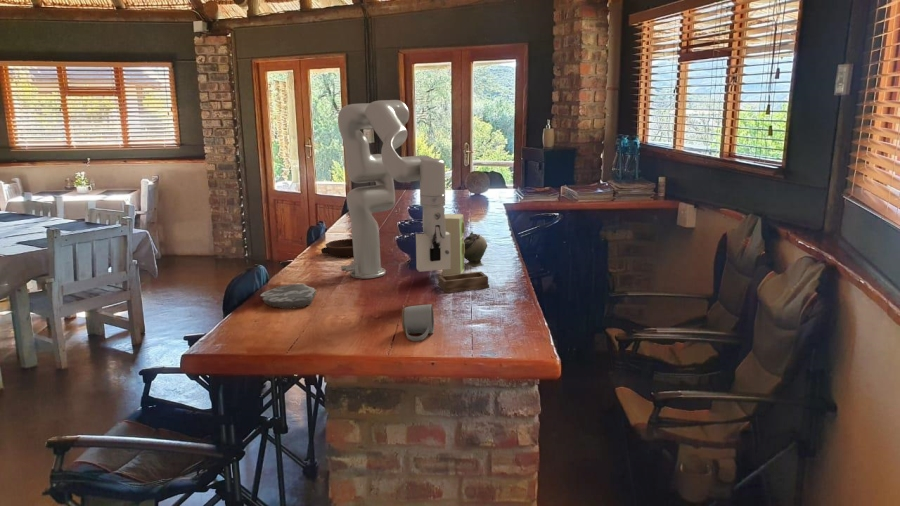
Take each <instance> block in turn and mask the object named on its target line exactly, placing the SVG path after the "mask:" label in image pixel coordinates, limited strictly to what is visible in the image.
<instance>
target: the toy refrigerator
mask: <svg viewBox="0 0 900 506" xmlns="http://www.w3.org/2000/svg"><path fill="white" fill-rule="evenodd" d="M444 214H445V229H446V232H448V233H449V234H450V241H451V269H443V270H441V271H442V275H441V276H445V275H454V274H463V273H465V258H464V253H465V243H464V240H465V237H464V236H465V234H464V233H465V232H466V230H465V221H464V214H462V213H455V214H454V213H453V214H452V213H444Z"/></svg>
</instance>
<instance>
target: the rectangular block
mask: <svg viewBox="0 0 900 506" xmlns="http://www.w3.org/2000/svg"><path fill="white" fill-rule="evenodd" d="M433 237H434V238H436V237H435V236H433ZM440 237H441V236H440ZM434 241H435V240H433V243H434ZM440 245H441V248H440V251H441V260H440V261H430V248H431V239H430V238H429V237H428V235H426V234H425V233H424V232H423V233H415V257H416V258H415V259H416V262H415V264H416V267H415V268H416V270H417V272H419V273H420V272H429V271H430V272H431V271H432V272H433V271H442V270H443V269H451V241H450V234H449V233H448V232H446V237H445V238H442V237H441V244H440Z"/></svg>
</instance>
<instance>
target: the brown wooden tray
mask: <svg viewBox="0 0 900 506" xmlns="http://www.w3.org/2000/svg"><path fill="white" fill-rule="evenodd" d="M437 277H438V282H437V287H439V288H440V289H441V290H442V292H444V293H445V294H449V293H455V292H456V293H457V292H464V291H472V290H473V291H474V290H481V289H490V284H489V276H488V275H486V274H485V273H484V272H483V271H472V272H463V274H454V275H445V276H443V275H439V276H437Z"/></svg>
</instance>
